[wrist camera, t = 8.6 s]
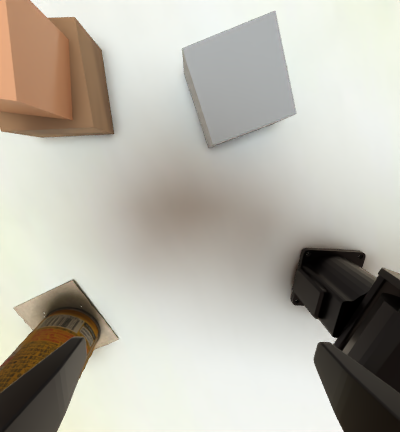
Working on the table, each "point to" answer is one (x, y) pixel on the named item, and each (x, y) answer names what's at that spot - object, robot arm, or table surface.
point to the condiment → (55, 329)
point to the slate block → (239, 79)
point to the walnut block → (73, 92)
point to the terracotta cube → (33, 63)
